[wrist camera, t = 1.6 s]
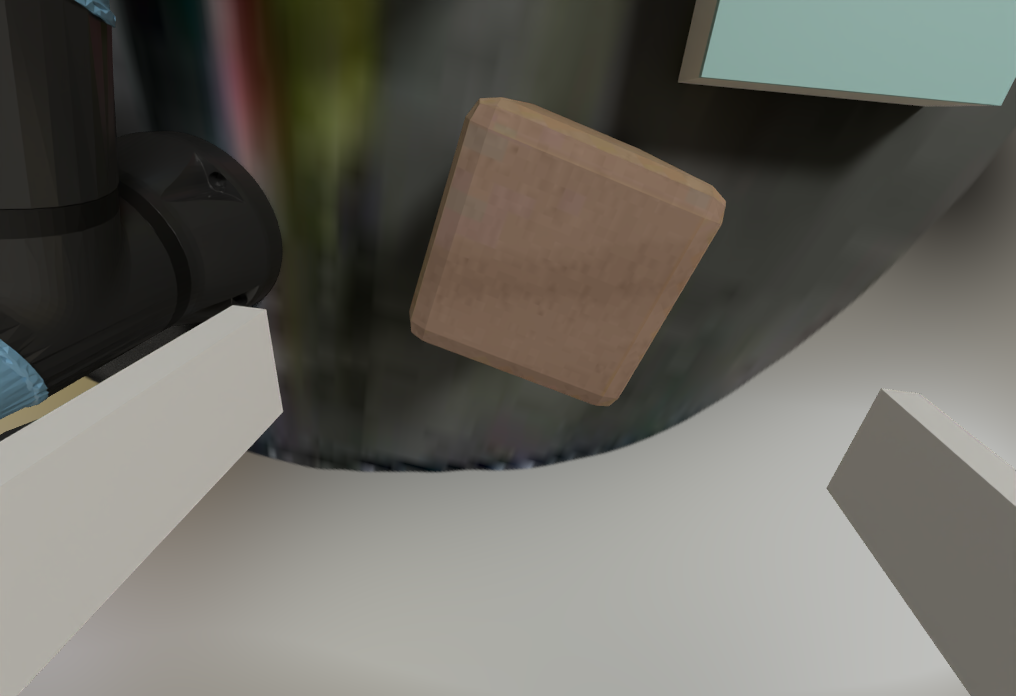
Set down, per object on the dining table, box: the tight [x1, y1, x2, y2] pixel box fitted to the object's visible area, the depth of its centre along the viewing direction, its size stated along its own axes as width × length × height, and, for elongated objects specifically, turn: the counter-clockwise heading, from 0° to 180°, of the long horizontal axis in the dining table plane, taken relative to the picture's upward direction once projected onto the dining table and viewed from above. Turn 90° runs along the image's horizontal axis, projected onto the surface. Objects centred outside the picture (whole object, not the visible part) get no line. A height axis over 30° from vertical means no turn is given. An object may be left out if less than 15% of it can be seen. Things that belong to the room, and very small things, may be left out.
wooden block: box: [409, 97, 726, 406], centre depth 26 cm, size 10×10×20 cm
